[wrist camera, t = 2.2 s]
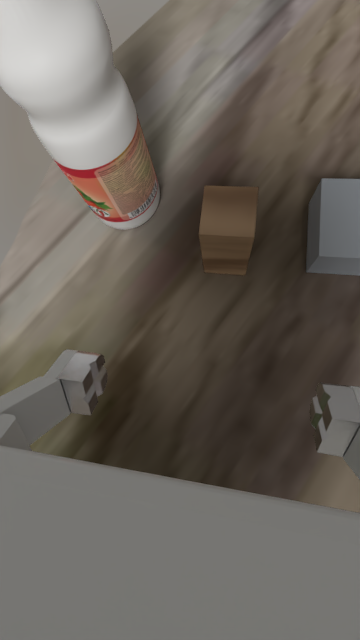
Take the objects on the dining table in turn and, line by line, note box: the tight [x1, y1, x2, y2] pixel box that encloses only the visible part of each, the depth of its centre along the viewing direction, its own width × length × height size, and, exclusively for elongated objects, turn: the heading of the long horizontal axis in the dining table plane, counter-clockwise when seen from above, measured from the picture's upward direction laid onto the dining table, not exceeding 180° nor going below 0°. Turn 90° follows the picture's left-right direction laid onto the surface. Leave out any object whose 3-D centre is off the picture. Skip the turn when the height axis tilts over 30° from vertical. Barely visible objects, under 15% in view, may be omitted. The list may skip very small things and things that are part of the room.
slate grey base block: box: [306, 178, 360, 276], centre depth 33 cm, size 9×9×5 cm
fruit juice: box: [0, 0, 160, 230], centre depth 27 cm, size 9×9×28 cm
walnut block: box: [199, 186, 259, 275], centre depth 32 cm, size 5×5×10 cm
